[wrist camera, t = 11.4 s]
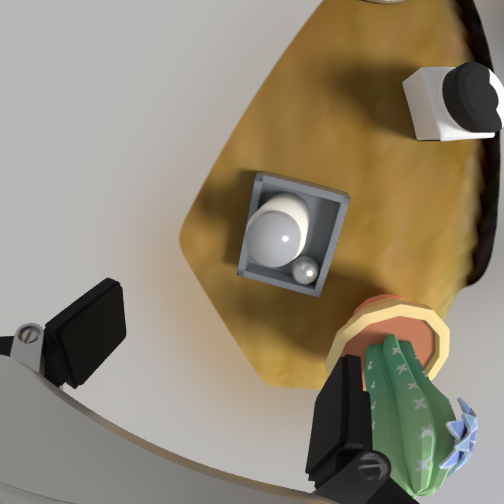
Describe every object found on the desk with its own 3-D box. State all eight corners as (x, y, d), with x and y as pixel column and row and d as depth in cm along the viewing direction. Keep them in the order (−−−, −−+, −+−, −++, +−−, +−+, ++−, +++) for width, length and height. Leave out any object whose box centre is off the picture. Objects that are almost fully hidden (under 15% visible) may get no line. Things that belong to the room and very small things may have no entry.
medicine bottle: (416, 141, 26) (464, 141, 15) (400, 81, 24) (439, 51, 13) (465, 136, 23) (524, 138, 13) (450, 79, 21) (502, 57, 10)
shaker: (269, 186, 31) (246, 202, 22) (315, 197, 30) (311, 219, 21) (260, 229, 33) (236, 262, 24) (304, 241, 32) (295, 278, 23)
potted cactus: (421, 359, 35) (451, 505, 12) (325, 365, 39) (305, 523, 16) (440, 268, 30) (536, 423, 7) (326, 272, 34) (312, 469, 11)
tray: (262, 171, 31) (256, 173, 28) (347, 193, 30) (350, 197, 27) (243, 264, 36) (236, 274, 33) (319, 285, 35) (319, 297, 32)
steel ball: (296, 249, 33) (293, 259, 30) (322, 256, 33) (321, 267, 30) (289, 272, 34) (286, 285, 31) (314, 279, 34) (313, 292, 31)
